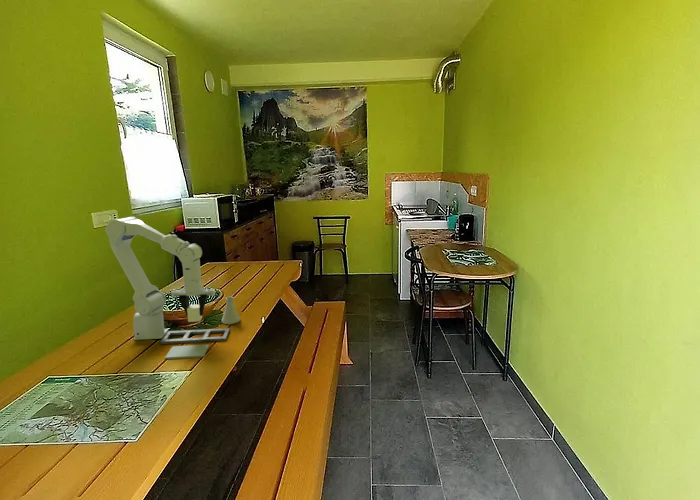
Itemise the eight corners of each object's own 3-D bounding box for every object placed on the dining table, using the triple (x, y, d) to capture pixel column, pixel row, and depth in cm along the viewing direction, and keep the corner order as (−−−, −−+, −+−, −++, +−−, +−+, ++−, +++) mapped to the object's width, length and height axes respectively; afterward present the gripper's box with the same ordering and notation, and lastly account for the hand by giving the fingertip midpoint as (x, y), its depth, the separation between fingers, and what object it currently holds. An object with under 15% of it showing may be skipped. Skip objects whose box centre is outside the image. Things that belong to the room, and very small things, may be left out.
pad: (165, 359, 120) (164, 357, 120) (172, 348, 128) (172, 346, 128) (204, 356, 122) (203, 355, 122) (209, 346, 130) (209, 344, 130)
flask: (217, 322, 150) (216, 299, 148) (230, 316, 157) (229, 294, 155) (231, 326, 147) (229, 302, 145) (244, 320, 153) (242, 296, 151)
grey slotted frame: (160, 344, 131) (160, 341, 131) (168, 333, 140) (168, 331, 139) (225, 340, 134) (225, 338, 134) (229, 330, 143) (229, 328, 143)
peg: (188, 321, 133) (187, 308, 132) (191, 317, 137) (190, 304, 136) (199, 321, 134) (198, 308, 133) (202, 317, 138) (201, 304, 137)
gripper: (166, 282, 127) (170, 320, 130) (211, 281, 130) (213, 318, 132) (173, 276, 134) (176, 312, 137) (215, 275, 136) (217, 311, 139)
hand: (195, 315), depth 135 cm, fingers closed on peg, 4 cm apart
